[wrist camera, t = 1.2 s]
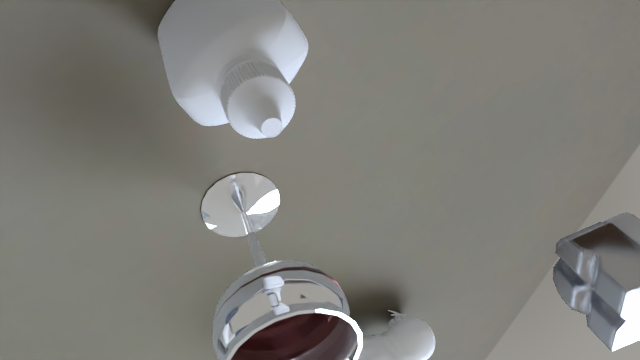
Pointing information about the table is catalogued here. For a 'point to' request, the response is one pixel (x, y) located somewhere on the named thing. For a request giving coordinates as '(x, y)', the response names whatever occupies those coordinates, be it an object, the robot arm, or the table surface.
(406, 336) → the white lumpy figure
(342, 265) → the table surface
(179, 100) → the eye dropper bottle
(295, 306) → the wineglass
